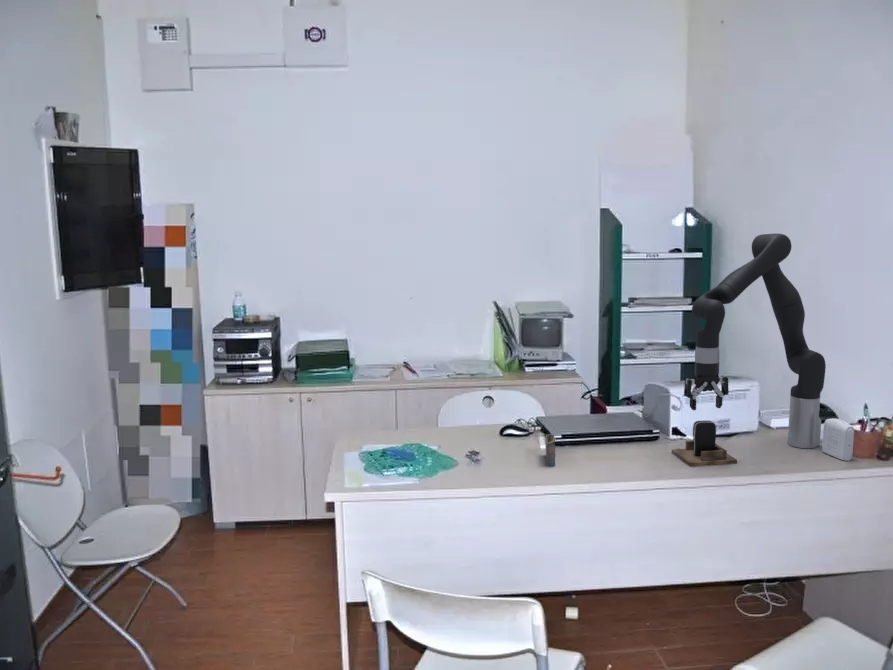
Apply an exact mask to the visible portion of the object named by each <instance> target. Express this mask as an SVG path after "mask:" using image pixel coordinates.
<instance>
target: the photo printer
mask: <svg viewBox="0 0 893 670" xmlns="http://www.w3.org/2000/svg"><path fill="white" fill-rule="evenodd" d="M822 432H823V435H822V447H821V448H822V449H821V450H822V451H821V452H823V453H824V454H827V455H829V456H831V457H833V458H836V459H839V460H842V461H845V462H848V461H851V460H852V459H853V454H854V453H853V450H854V440H855V429H854V427H853V425H851V424H850V423H848V422H846V421H844V420H843V419H840V418H835V417H834V418H827V419H825V421H824V423H823V431H822Z"/></svg>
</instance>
